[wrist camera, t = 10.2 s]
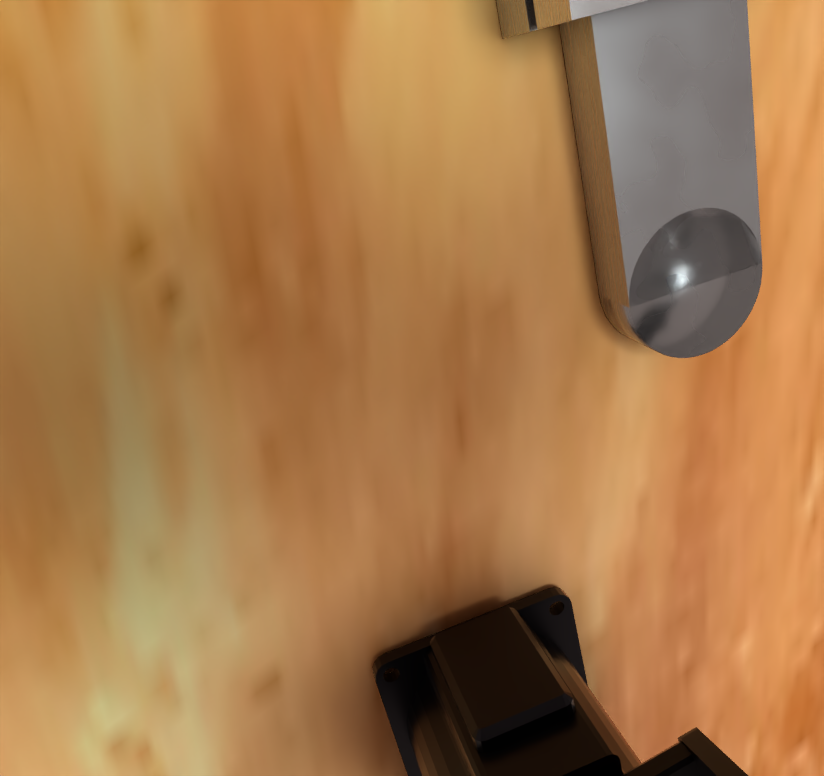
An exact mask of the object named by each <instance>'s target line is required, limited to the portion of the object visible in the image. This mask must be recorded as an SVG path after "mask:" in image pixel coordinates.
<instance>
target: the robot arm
mask: <svg viewBox="0 0 824 776" xmlns="http://www.w3.org/2000/svg"><path fill="white" fill-rule="evenodd" d="M555 602H558V603H557V604H556V605H555V606H554V607H551V608H550V606H551V605H552V604H553V603H555ZM372 668H373V674H374V677H375V681H376V683H377V686H378V689H379V692H380V695H381V698H382V701H383V704H384V707H385V710H386V713H387V716H388V718H389V721H390V724H391V727H392V730H393V733H394V736H395V739H396V742H397V745H398V748H399V751H400V753H401V756H402V759H403V762H404V765H405V768H406V771H407V774H408V776H748V775H747V774H746V773H745V772H744V771H743V770H742V769H741V768H739V767H738V766H737V765H736V764H735V763H734V762H733V761H732V760H731V759H730V758H729V757H728V756H727V755H726V754H724V753H723V752H722V751H721V750H720V749H719V748H718V747H717V746H716V745H715V744H714V743H713V742H712V741H710V740H709V739H708V738H707V737H706V736H705V735H704V734H703V733H702V732H701V731H700V730H699V729H698V728H694V729H692V730H691V731H689V732H687V733H685V734H684V735H682V736H680V737H679V738H678V741H679V742H678V743H676V744H674V745H673V746H671V747H669V748H668V749H666V750H664V751H662V752H661V753H659V754H657V755H656V756H654V757H652V758H650V759H649V760H647V761H645V762H644V763H641V762H640V760H639V759H638V758H637V756H636V755H635V753H634V752H633V750H632V749H631V748H630V746H629V745H628V743H627V742H626V740H625V739H624V738H623V736H622V735H621V733H620V732H619V730H618V729H617V728H616V726H615V725H614V723H613V722H612V720H611V719H610V718H609V716H608V715H607V713H606V712H605V710H604V709H603V708H602V706H601V705H600V703H599V702H598V700H597V699H596V698H595V696H594V695H593V693H592V692H591V690H590V689H589V688H588V685H587V680H586V675H585V670H584V665H583V660H582V655H581V649H580V644H579V639H578V634H577V629H576V624H575V619H574V614H573V609H572V604H571V601H570V599H569V597H568V596H567V595H566V593H565V592H564V591H563V590H562V589H560V588H556V587H553V588H549V589H546V590H544V591H541V592H539V593H536V594H534V595H531V596H529V597H526V598H523V599H521V600H518V601H516V602H513V603H511V604H508V605H506V606H503V607H501V608H498V609H496V610H493V611H491V612H488V613H486V614H483V615H481V616H478V617H476V618H473V619H471V620H468V621H466V622H463V623H461V624H458V625H456V626H453V627H451V628H448V629H445V630H443V631H440V632H438V633H435V634H433V635H430V636H428V637H425V638H423V639H420V640H418V641H415V642H413V643H410V644H408V645H405V646H403V647H400V648H398V649H395V650H393V651H390V652H388V653H385V654H383V655H381V656H380V657H378V658H377V660H376V661H375V662H374V664H373V667H372ZM390 668H395V669H394V671H392V672H391V673H385V671H386V670H388V669H390Z"/></svg>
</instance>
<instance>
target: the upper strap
mask: <svg viewBox="0 0 824 776" xmlns="http://www.w3.org/2000/svg"><path fill="white" fill-rule="evenodd" d="M644 1H648V0H533V4H534V10H535V16H536V22H537V29H542V28H545V27H549V26H553V25H557V24H561V23H564V22H568V21H572V20H576V19H579V18H583V17H587V16H591V15H595V14H598V13H602V12H606V11H610V10H614V9H617V8H621V7H625V6H629V5H633V4H636V3H640V2H644Z"/></svg>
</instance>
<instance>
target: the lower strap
mask: <svg viewBox="0 0 824 776" xmlns="http://www.w3.org/2000/svg"><path fill="white" fill-rule="evenodd" d="M496 4H497V10H498V15H499V21H500V27H501V32H502V38H503V39H505V38H508V37H512V36H516V35H520V34H524V33H527V32H531V31H535V30H539V29H537V22H536V16H535V10H534V4H533V0H496ZM557 25H558V24H557ZM553 26H554V25H553ZM559 26H560V33H561V40H562V46H563V53H564V60H565V67H566V73H567V80H568V87H569V94H570V100H571V107H572V114H573V121H574V128H575V134H576V141H577V148H578V155H579V161H580V168H581V175H582V182H583V188H584V195H585V202H586V209H587V215H588V222H589V229H590V236H591V242H592V249H593V256H594V263H595V270H596V276H597V283H598V290H599V296H600V301H601V305H602V307H603V310H604V313H605V314H606V316H607V318H608V320H609V321H610V322H611V324H612V325H613V326H614V327H615V328H616V329H617V330H618V331H619V332H621V333H622V334H623V335H625V336H627V337H629V338H631V339H633V340H635V341H637V342H639V343H641V344H643V345H645V346H647V347H649V348H651V349H653V350H655V351H657V352H659V353H661V354H664V355H667V356H670V357H676V358H689V357H695V356H699V355H702V354H705V353H707V352H710V351H712V350H714V349H715V348H717V347H719V346H720V345H722V344H723V343H725V342H726V341H727V340H728V339H729V338H731V337H732V336H733V335H734V334H735V333H736V332H737V331H738V329H739V328H740V327H741V326H742V324H743V323H744V322H745V320H746V319H747V317H748V316H749V314H750V312H751V310H752V308H753V306H754V304H755V302H756V299H757V296H758V293H759V289H760V285H761V278H762V253H761V235H760V218H759V201H758V184H757V166H756V149H755V132H754V114H753V97H752V80H751V62H750V45H749V28H748V10H747V0H648V1H644V2H640V3H636V4H633V5H629V6H625V7H621V8H617V9H614V10H610V11H606V12H602V13H598V14H595V15H591V16H587V17H583V18H579V19H576V20H572V21H568V22H564V23H561V24H559ZM549 27H550V26H549ZM545 28H546V27H545Z"/></svg>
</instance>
